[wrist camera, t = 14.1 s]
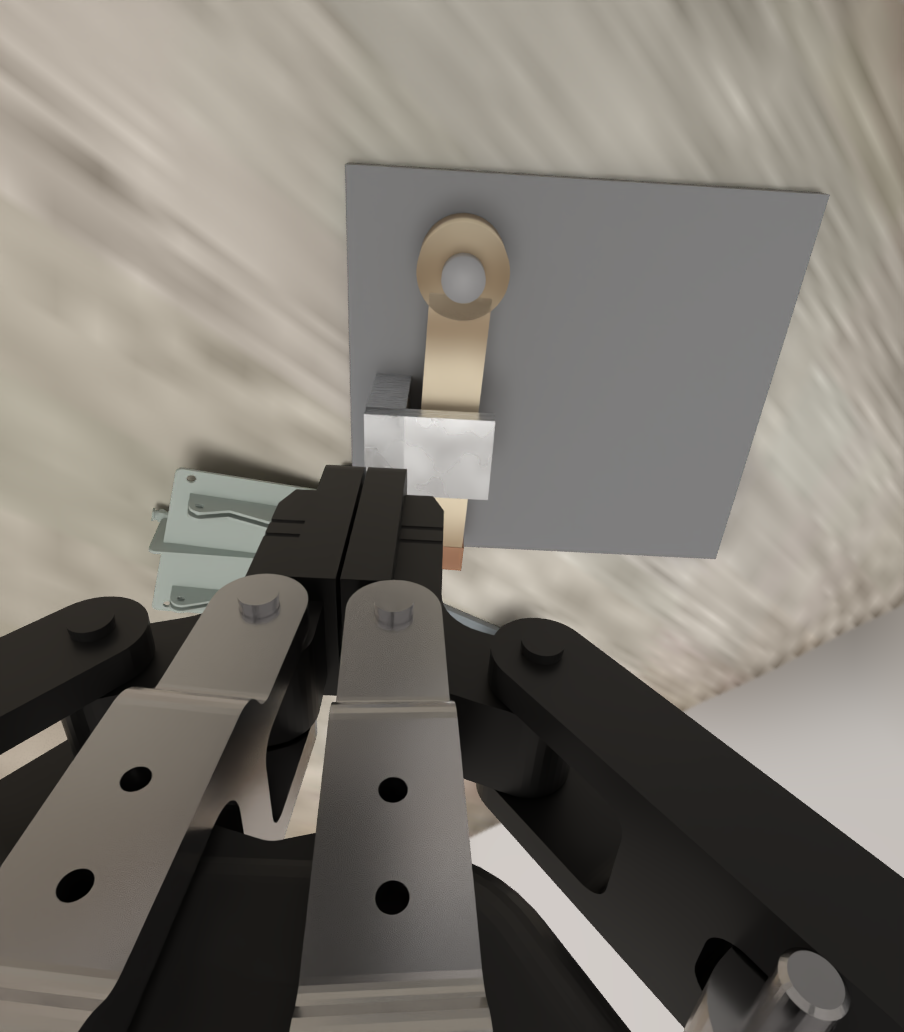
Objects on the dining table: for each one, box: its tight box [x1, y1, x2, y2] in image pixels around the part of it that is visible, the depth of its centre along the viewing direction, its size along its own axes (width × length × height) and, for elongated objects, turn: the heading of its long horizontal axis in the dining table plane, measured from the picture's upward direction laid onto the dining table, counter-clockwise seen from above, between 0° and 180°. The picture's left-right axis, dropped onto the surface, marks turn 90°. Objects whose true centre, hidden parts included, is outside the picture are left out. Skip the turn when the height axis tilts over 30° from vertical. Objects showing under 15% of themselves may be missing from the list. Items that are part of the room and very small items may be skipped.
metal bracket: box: [149, 468, 317, 613], centre depth 45 cm, size 14×6×15 cm
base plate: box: [345, 163, 829, 559], centre depth 37 cm, size 22×24×6 cm
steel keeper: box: [364, 373, 495, 500], centre depth 37 cm, size 4×6×6 cm
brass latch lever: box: [416, 213, 510, 571], centre depth 37 cm, size 19×4×4 cm, turn 175°
